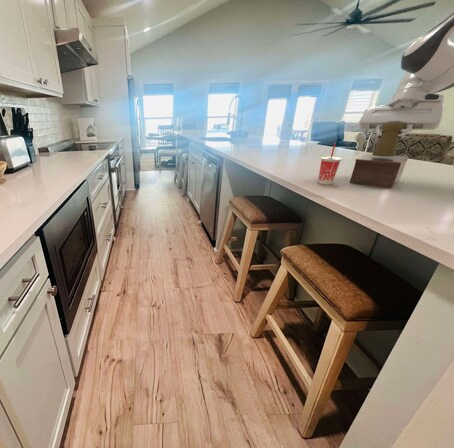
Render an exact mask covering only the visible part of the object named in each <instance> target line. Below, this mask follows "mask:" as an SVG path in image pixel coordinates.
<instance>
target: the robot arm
mask: <svg viewBox="0 0 454 448" xmlns="http://www.w3.org/2000/svg"><path fill="white" fill-rule="evenodd" d="M453 34H454V11H453V12H452V13H451V14H449V15H447V16H446V18H444V19H443V20H442V21H440V23H438V24H437V25H436V26H435V27H433V28H432V29H430V30H429V31H427V32H426V33H424V35H423V36H421V37H419V38H418V39H417V40H416V41H414V42H413V43H411V45H410V46H409V47H407V48H406V50H404V51H403V53H402V55H401V59H400V69H401V70H403V71H405V74H404V75H403V77H402V78H401V79H400V81H399V82H398V85H397V87H396V90H395V93H393V95H392V97H391V99H390V101H389V103H388V104H386V105H385V104H383V105H372V106H370V107H368V108H367V107H366V108H365V109H364V111H363V114H362V116H361V117H360V119H359V121H358V128H359V129H360V130H375V133H376V136H375V138H376V139H380V138H381V136H382V134H383V130H382V127H383V125H384V124H385V123H386V122H390V121H401V122H403V123H404V128H403V129H402V130H401V131H400V132H399V134H398V136H397V137H398V140H404V137H405V136H406V135H408V134H409V133H411V132H412V131H413V130H415V131H416V130H417V131H423V130H424V131H433V130H436V129H438V128H439V127H440V124H441V121H442V119H443V116H444V111H445V105H444V102H445V95H444V94H440V93H441V92H444V91H447V90H450V89H451V88H454V41H452V40H451V36H452V35H453ZM438 93H439V94H438Z"/></svg>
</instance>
